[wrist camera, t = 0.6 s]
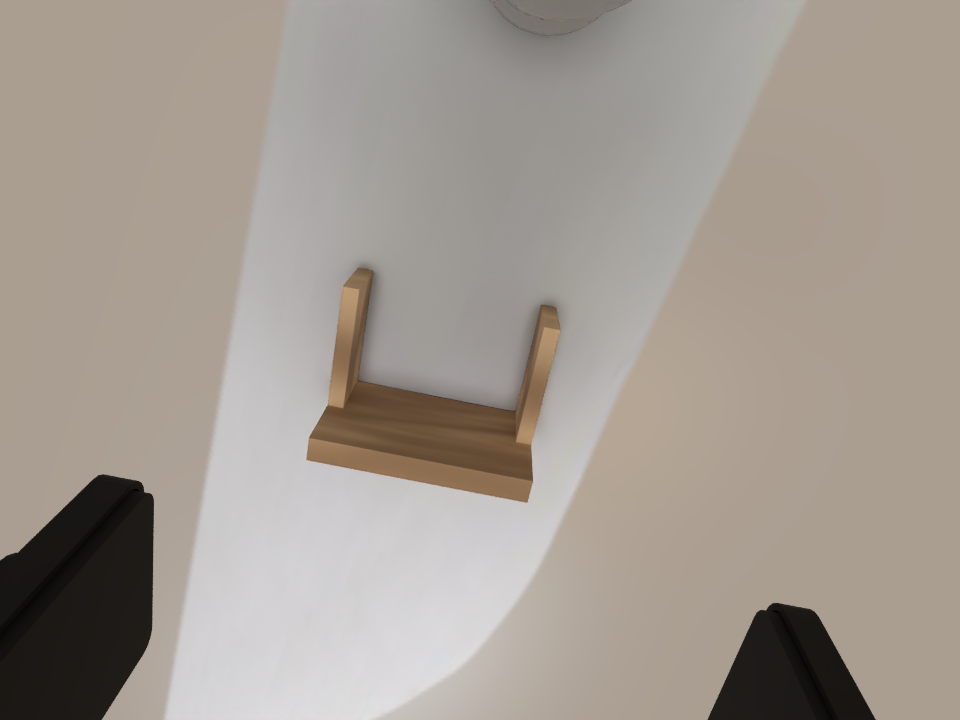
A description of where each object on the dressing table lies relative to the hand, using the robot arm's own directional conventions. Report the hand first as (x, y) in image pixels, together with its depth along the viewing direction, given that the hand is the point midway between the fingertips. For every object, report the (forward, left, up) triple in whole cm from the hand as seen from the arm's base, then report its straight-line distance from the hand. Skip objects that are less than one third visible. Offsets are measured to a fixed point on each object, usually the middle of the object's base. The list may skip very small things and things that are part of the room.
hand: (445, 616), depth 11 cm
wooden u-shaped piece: (+7, -1, -27) cm, 28 cm away
